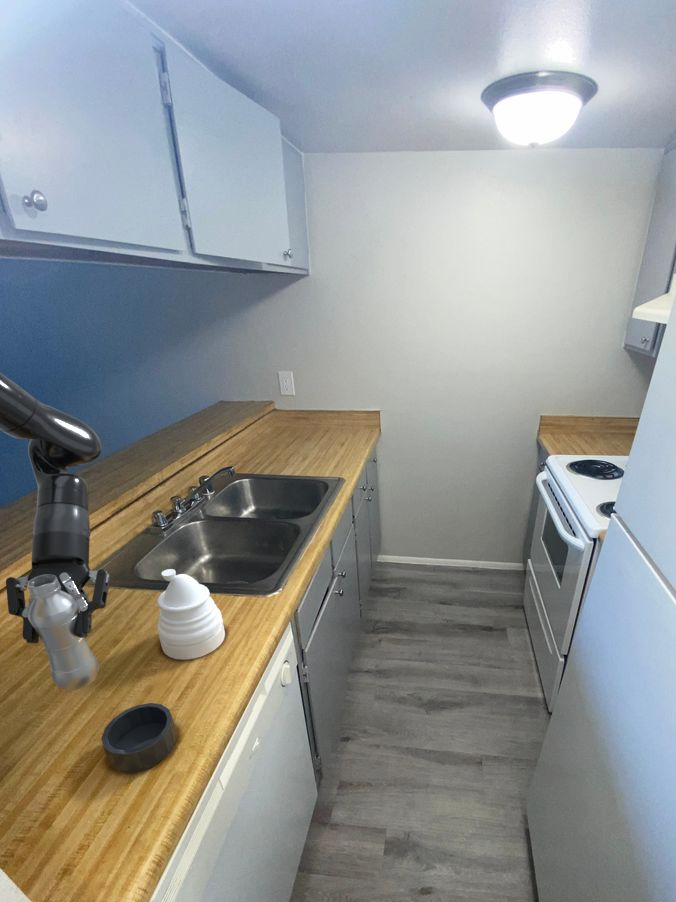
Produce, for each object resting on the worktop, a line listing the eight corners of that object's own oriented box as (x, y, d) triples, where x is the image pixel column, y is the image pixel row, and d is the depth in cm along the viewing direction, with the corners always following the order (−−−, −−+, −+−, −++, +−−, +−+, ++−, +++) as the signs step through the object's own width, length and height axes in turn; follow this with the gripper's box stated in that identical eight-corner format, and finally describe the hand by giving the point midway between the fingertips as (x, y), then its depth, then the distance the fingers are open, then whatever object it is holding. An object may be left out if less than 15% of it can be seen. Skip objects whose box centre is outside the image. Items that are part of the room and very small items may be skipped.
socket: (101, 779, 74) (93, 760, 72) (117, 727, 83) (111, 709, 81) (171, 765, 77) (166, 746, 74) (180, 716, 85) (176, 698, 83)
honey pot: (167, 667, 96) (148, 594, 87) (157, 632, 105) (139, 563, 97) (232, 646, 102) (219, 576, 94) (216, 615, 112) (204, 548, 103)
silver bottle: (58, 702, 75) (15, 598, 65) (55, 676, 79) (14, 576, 70) (104, 685, 78) (70, 585, 69) (99, 662, 83) (66, 564, 74)
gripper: (-4, 533, 72) (-13, 644, 67) (102, 526, 75) (101, 630, 71) (22, 547, 79) (16, 648, 74) (119, 539, 82) (118, 636, 78)
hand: (57, 639), depth 73 cm, fingers closed on silver bottle, 6 cm apart
